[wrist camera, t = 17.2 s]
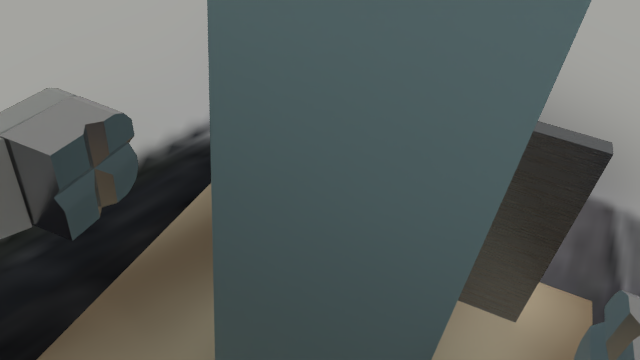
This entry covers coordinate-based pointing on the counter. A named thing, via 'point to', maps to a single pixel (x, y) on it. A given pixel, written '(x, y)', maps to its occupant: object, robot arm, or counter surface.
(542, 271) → the bookend
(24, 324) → the counter surface
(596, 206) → the counter surface
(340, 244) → the tall teal pillar
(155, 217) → the counter surface
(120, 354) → the shelf board
